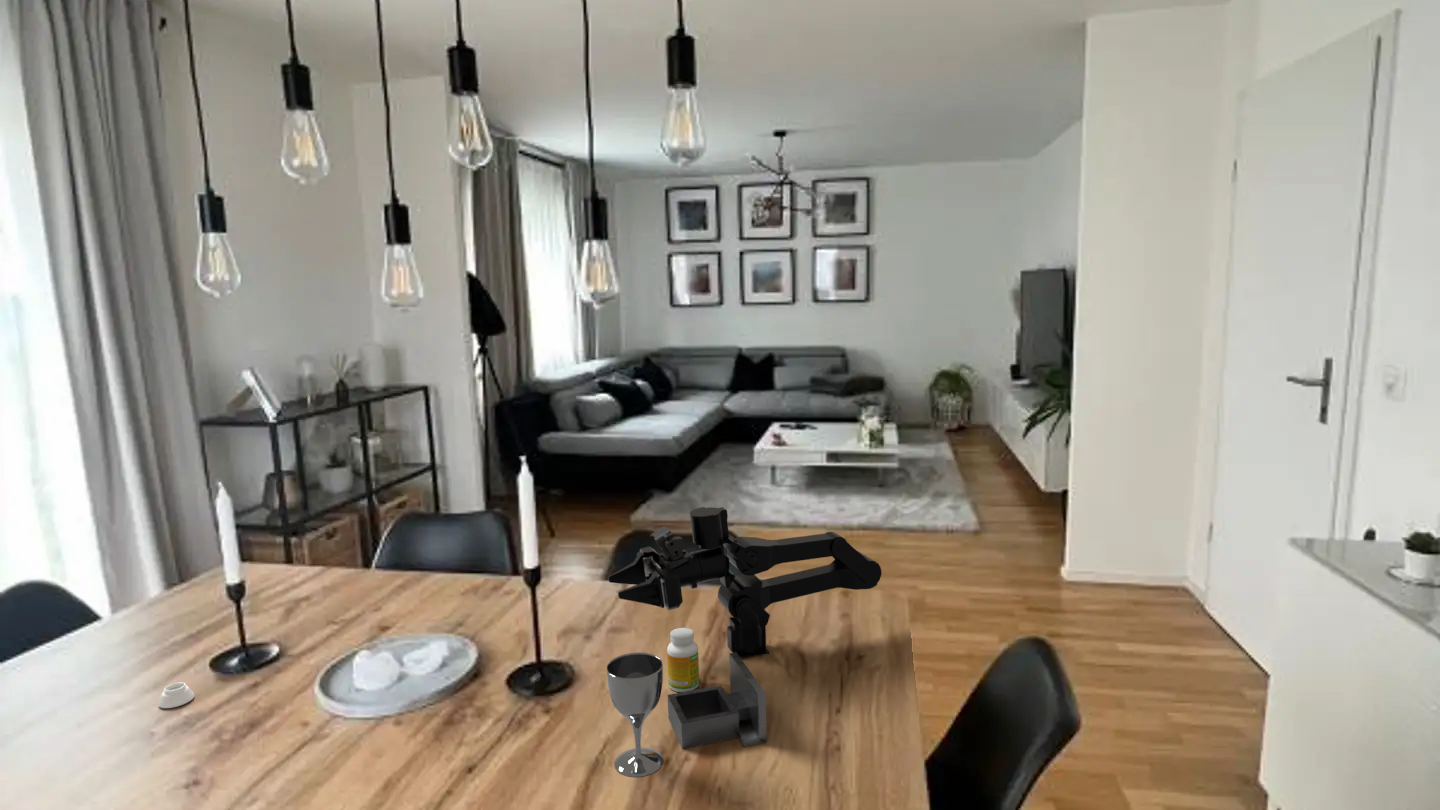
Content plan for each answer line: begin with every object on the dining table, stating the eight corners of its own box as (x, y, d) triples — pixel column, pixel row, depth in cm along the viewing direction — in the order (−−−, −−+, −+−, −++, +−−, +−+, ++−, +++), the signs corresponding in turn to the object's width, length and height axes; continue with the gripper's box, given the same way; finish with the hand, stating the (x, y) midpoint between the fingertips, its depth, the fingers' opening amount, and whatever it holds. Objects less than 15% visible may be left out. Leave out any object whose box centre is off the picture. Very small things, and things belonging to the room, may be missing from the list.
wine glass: (612, 748, 117) (608, 654, 114) (665, 744, 117) (662, 650, 115) (609, 780, 109) (605, 680, 107) (666, 776, 109) (662, 676, 107)
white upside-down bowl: (151, 708, 132) (173, 712, 130) (149, 691, 131) (171, 695, 130) (179, 693, 136) (201, 697, 135) (177, 677, 136) (199, 681, 135)
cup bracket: (737, 697, 130) (736, 652, 129) (766, 741, 117) (765, 692, 116) (664, 710, 127) (663, 664, 126) (686, 758, 114) (684, 707, 112)
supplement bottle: (695, 694, 132) (693, 640, 130) (664, 691, 133) (662, 638, 131) (702, 679, 137) (700, 626, 136) (672, 676, 138) (671, 624, 137)
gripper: (677, 513, 150) (597, 530, 145) (706, 537, 132) (617, 558, 128) (684, 568, 151) (606, 587, 147) (714, 599, 134) (626, 622, 129)
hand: (613, 587), depth 137 cm, fingers open, 9 cm apart
